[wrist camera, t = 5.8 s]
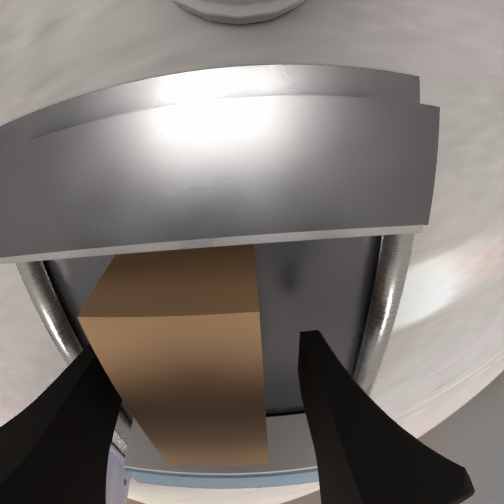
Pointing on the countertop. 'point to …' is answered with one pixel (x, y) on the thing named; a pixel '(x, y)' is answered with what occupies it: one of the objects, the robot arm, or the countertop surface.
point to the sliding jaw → (231, 476)
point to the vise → (231, 199)
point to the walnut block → (185, 350)
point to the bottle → (238, 9)
